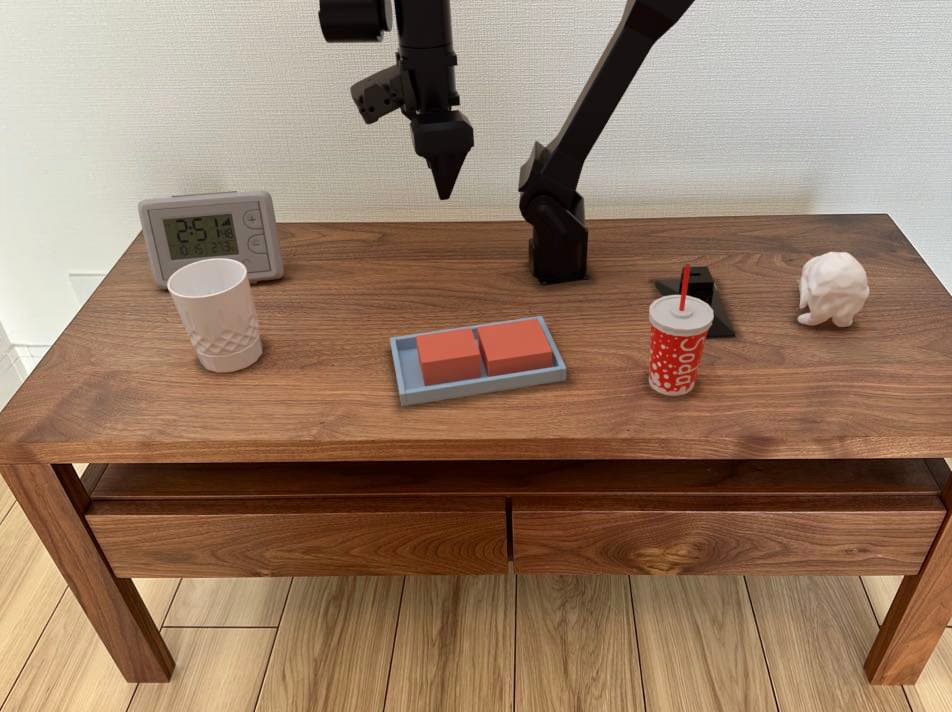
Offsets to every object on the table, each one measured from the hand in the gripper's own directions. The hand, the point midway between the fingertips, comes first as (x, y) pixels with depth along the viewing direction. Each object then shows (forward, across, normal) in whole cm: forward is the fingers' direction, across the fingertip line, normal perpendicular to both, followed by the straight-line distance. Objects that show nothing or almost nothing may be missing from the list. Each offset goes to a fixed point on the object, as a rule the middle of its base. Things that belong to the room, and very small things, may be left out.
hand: (438, 183), depth 90 cm
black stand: (+12, +16, +27) cm, 34 cm away
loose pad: (+12, +21, -3) cm, 24 cm away
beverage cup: (+12, +29, +19) cm, 37 cm away
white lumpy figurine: (+12, +20, +41) cm, 47 cm away
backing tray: (+12, +21, 0) cm, 24 cm away
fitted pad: (+12, +21, +4) cm, 24 cm away
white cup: (+12, +12, -26) cm, 31 cm away
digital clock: (+12, -6, -28) cm, 31 cm away
